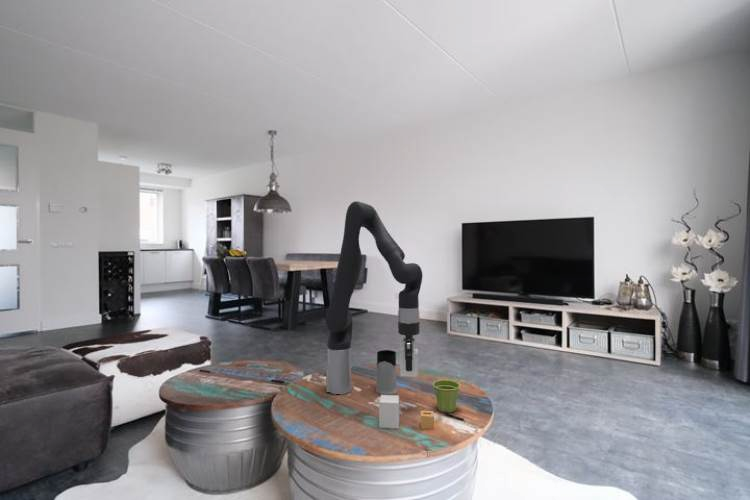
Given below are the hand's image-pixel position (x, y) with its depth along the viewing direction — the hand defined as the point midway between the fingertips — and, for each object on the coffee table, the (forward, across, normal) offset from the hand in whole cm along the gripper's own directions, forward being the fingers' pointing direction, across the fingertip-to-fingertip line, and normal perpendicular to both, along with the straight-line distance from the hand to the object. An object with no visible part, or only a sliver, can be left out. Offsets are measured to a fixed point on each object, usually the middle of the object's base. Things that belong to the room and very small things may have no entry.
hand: (409, 367), depth 132 cm
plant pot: (+15, -1, +13) cm, 20 cm away
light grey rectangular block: (+2, 0, 0) cm, 2 cm away
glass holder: (+15, -19, -9) cm, 26 cm away
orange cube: (+15, +12, +6) cm, 20 cm away
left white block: (+14, +12, -6) cm, 20 cm away
